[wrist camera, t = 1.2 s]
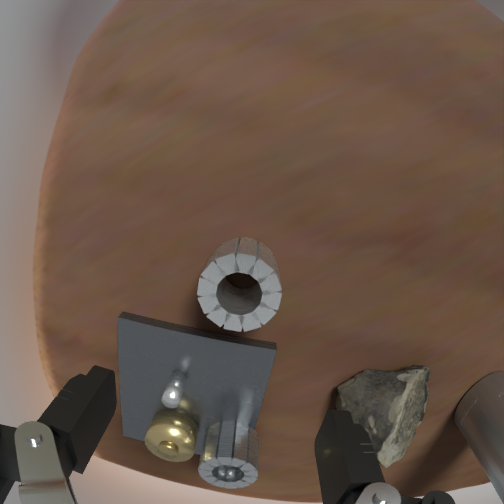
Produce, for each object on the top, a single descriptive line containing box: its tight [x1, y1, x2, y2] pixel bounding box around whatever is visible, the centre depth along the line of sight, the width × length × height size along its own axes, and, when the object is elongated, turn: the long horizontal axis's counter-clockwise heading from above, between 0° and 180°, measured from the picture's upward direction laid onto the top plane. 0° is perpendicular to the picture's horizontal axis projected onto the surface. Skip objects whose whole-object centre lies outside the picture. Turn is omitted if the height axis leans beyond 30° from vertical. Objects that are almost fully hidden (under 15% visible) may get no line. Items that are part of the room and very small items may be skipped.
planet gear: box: [197, 237, 282, 332], centre depth 24 cm, size 6×6×5 cm
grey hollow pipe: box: [198, 421, 259, 488], centre depth 27 cm, size 6×6×5 cm
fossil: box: [336, 365, 430, 468], centre depth 26 cm, size 11×9×10 cm
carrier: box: [118, 312, 277, 467], centre depth 27 cm, size 14×16×5 cm
